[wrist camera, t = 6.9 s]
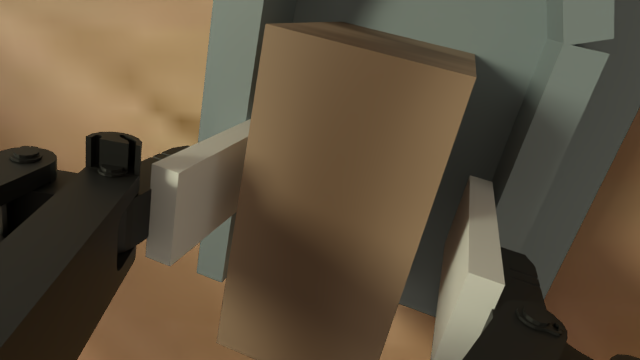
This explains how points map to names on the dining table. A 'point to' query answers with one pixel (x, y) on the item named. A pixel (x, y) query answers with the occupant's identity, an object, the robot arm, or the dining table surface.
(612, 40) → the grey grooved base
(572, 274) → the dining table surface
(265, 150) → the brown rectangular block
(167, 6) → the dining table surface
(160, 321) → the dining table surface
